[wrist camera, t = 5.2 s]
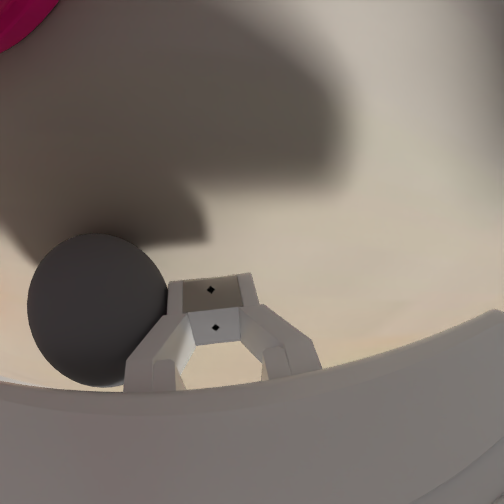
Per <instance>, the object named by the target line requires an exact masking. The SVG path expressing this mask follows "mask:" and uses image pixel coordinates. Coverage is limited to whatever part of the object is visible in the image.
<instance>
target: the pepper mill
mask: <svg viewBox="0 0 504 504" xmlns="http://www.w3.org/2000/svg"><path fill="white" fill-rule="evenodd" d="M58 1H59V0H0V53H1V52H3V51H5V50H7V49H9V48H10V47H12V46H14V45H15V44H17V43H18V42H19V41H21V40H22V39H23V38H25V37H26V36H27V35H28V34H29V33H31V32H32V31H33V30H34V29H35V28H36V27H37V26H38V25H39V24H40V23H41V22H42V21H43V19H44V18H45V17H46V16H47V15H48V14H49V13H50V11H51V10H52V9H53V8H54V7H55V6H56V4H57V3H58Z"/></svg>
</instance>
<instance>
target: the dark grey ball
mask: <svg viewBox="0 0 504 504" xmlns="http://www.w3.org/2000/svg"><path fill="white" fill-rule="evenodd" d="M167 300H168V288H167V286H166V283H165V281H164V279H163V277H162V275H161V273H160V271H159V270H158V268H157V267H156V265H155V264H154V263H153V262H152V260H151V259H150V258H149V257H148V256H147V255H146V254H145V253H144V252H143V251H142V250H140V249H139V248H138V247H136V246H135V245H133V244H132V243H130V242H128V241H126V240H124V239H122V238H118V237H115V236H112V235H107V234H85V235H79V236H76V237H73V238H70V239H68V240H66V241H64V242H62V243H61V244H59V245H58V246H56V247H55V248H54V249H53V250H51V251H50V252H49V253H48V254H47V255H46V256H45V258H44V259H43V260H42V261H41V263H40V264H39V266H38V268H37V269H36V271H35V273H34V275H33V278H32V280H31V284H30V288H29V291H28V300H27V313H28V320H29V326H30V329H31V333H32V336H33V338H34V340H35V342H36V345H37V347H38V348H39V350H40V351H41V353H42V354H43V356H44V357H45V359H46V360H47V361H48V362H49V363H50V364H51V365H52V366H53V367H54V368H55V369H56V370H58V371H59V372H60V373H61V374H63V375H64V376H66V377H68V378H69V379H71V380H73V381H75V382H78V383H80V384H83V385H87V386H92V387H101V388H104V387H115V386H120V385H123V384H124V377H125V367H126V360H127V359H128V357H129V356H130V355H131V354H132V352H133V351H134V350H135V349H136V348H137V346H138V345H139V344H140V343H141V341H142V340H143V339H144V338H145V336H146V335H147V334H148V333H149V332H150V330H151V329H152V328H153V327H154V325H155V324H156V323H157V322H158V321H159V319H160V318H161V317H162V316H163V315H167Z"/></svg>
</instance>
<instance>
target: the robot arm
mask: <svg viewBox="0 0 504 504" xmlns="http://www.w3.org/2000/svg"><path fill="white" fill-rule="evenodd" d="M233 341H241V342H242V343H243V344H244V345H245V347H246V348H247V349H248V350H249V351H250V352H251V353H252V354H253V355H254V356H255V357H256V358H257V359H258V360H259V361H260V362H261V363H262V375H261V381H259V382H252V383H246V384H238V385H231V386H222V387H213V388H203V389H192V390H186V388H185V385H184V383H183V381H182V378H181V376H180V375H181V373H182V371H183V370H184V368H185V366H186V364H187V362H188V361H189V359H190V357H191V355H192V353H193V352H194V350H195V348H196V346H198V345H206V344H214V343H223V342H233ZM0 504H504V312H502V311H500V310H498V309H492V310H489V311H487V312H485V313H483V314H481V315H479V316H477V317H475V318H473V319H470V320H468V321H466V322H464V323H461V324H459V325H457V326H454V327H452V328H450V329H447V330H445V331H442V332H440V333H437V334H435V335H432V336H429V337H427V338H424V339H421V340H419V341H416V342H413V343H410V344H408V345H405V346H402V347H399V348H396V349H393V350H390V351H386V352H383V353H380V354H377V355H374V356H370V357H367V358H363V359H360V360H356V361H352V362H349V363H345V364H341V365H337V366H333V367H329V368H325V369H322V366H321V363H320V361H319V358H318V356H317V353H316V350H315V348H314V345H313V342H312V340H311V339H310V338H309V337H307V336H306V335H304V334H303V333H302V332H300V331H299V330H298V329H296V328H295V327H294V326H292V325H291V324H290V323H288V322H287V321H286V320H284V319H283V318H282V317H280V316H279V315H278V314H276V313H275V312H274V311H272V310H271V309H270V308H268V307H267V306H266V305H264V304H261V305H260V304H259V300H258V296H257V293H256V289H255V285H254V281H253V278H252V274H251V273H242V274H237V275H228V276H220V277H212V278H201V279H189V280H180V281H170V282H169V284H168V300H167V315H163V316H162V317H161V318H160V319H159V321H158V322H157V323H156V324H155V325H154V327H153V328H152V329H151V330H150V332H149V333H148V334H147V335H146V336H145V338H144V339H143V340H142V341H141V343H140V344H139V345H138V346H137V348H136V349H135V350H134V351H133V352H132V354H131V355H130V356H129V357H128V359H127V360H126V367H125V377H124V389H123V392H96V391H77V390H64V389H53V388H44V387H36V386H28V385H22V384H15V383H9V382H4V381H0Z"/></svg>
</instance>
